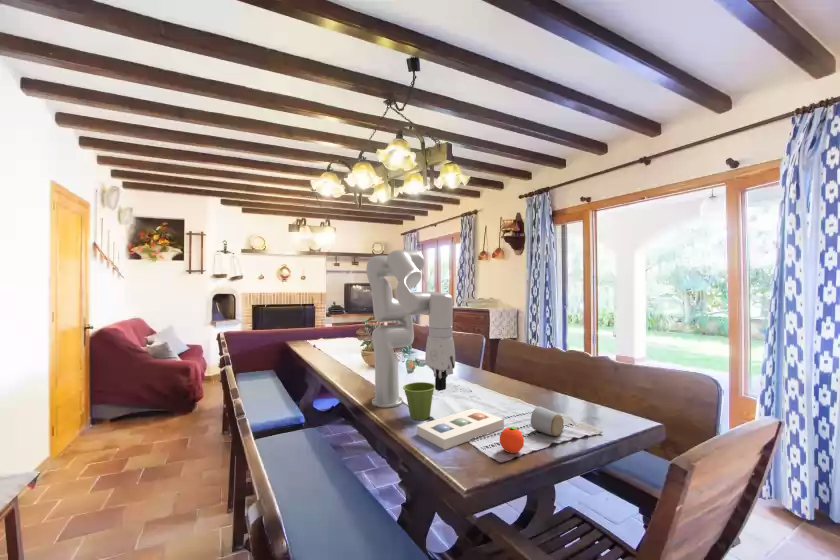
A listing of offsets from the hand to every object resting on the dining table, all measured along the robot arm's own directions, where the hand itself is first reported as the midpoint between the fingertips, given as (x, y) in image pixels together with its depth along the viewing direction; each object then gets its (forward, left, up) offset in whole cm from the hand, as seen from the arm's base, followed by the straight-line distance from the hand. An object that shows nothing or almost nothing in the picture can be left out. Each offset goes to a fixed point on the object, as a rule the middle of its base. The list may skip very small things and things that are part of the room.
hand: (440, 389), depth 123 cm
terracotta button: (+1, +16, -15) cm, 22 cm away
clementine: (+21, +10, -15) cm, 28 cm away
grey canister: (+19, +30, -16) cm, 39 cm away
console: (+1, +8, -15) cm, 17 cm away
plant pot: (-18, +5, -15) cm, 24 cm away
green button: (+1, +8, -15) cm, 17 cm away
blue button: (+1, 0, -15) cm, 15 cm away
